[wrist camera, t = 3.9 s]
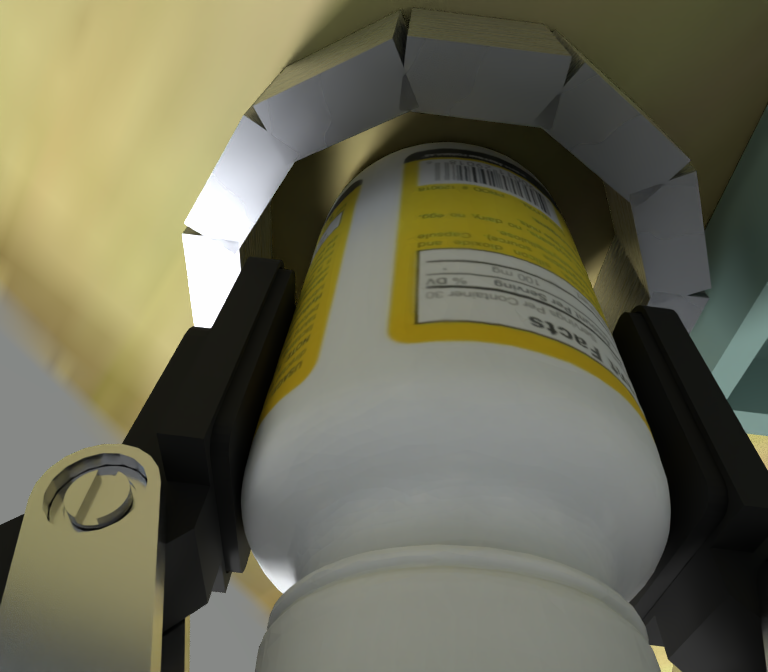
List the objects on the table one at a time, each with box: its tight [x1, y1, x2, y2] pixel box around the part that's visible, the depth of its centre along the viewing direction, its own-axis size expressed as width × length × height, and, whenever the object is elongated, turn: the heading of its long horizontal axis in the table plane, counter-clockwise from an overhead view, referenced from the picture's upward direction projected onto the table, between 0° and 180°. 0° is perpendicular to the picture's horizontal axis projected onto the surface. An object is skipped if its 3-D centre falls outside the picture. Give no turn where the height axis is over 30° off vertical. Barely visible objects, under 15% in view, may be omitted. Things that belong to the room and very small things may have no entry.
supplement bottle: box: [241, 142, 671, 672], centre depth 9 cm, size 5×5×10 cm
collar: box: [182, 8, 712, 335], centre depth 12 cm, size 9×9×2 cm
